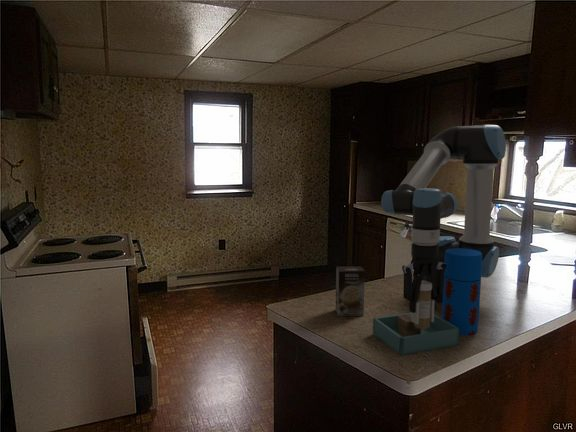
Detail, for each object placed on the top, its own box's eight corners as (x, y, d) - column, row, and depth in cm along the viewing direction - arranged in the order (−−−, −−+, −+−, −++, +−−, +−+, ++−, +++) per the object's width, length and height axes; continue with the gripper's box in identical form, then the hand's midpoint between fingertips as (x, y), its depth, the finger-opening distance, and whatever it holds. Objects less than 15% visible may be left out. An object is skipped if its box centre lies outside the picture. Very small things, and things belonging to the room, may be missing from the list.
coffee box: (337, 316, 148) (338, 271, 145) (335, 309, 154) (335, 266, 152) (364, 315, 148) (365, 270, 146) (360, 309, 154) (361, 265, 152)
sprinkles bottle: (417, 322, 128) (418, 279, 126) (432, 325, 126) (434, 281, 124) (411, 327, 125) (413, 282, 123) (427, 331, 122) (429, 285, 120)
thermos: (459, 338, 130) (463, 257, 126) (434, 325, 139) (437, 250, 136) (485, 331, 134) (490, 253, 130) (459, 319, 144) (463, 246, 140)
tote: (426, 324, 140) (427, 310, 139) (459, 345, 125) (460, 328, 124) (373, 333, 134) (373, 318, 133) (400, 355, 119) (401, 338, 118)
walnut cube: (411, 329, 135) (411, 314, 134) (420, 335, 130) (421, 319, 130) (397, 331, 134) (397, 316, 133) (406, 337, 129) (406, 322, 128)
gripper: (406, 248, 115) (403, 330, 119) (459, 243, 121) (455, 322, 124) (391, 242, 122) (389, 320, 126) (442, 238, 128) (439, 313, 131)
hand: (422, 321), depth 125 cm, fingers closed on sprinkles bottle, 4 cm apart
